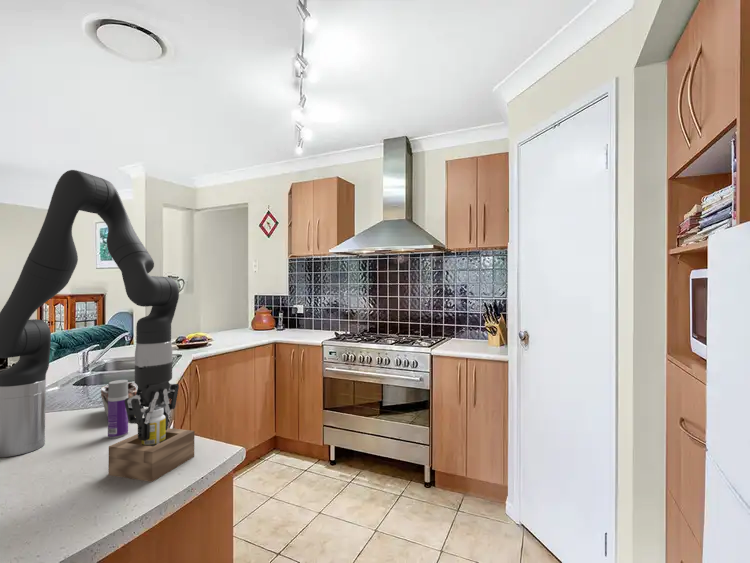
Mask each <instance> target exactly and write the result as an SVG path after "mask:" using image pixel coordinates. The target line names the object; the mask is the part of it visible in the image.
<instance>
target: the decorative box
mask: <svg viewBox="0 0 750 563" xmlns="http://www.w3.org/2000/svg"><path fill="white" fill-rule="evenodd" d="M137 388H138V386H137V384H135V382H131V381H130V382H129V381H128V398H132V397H134V396H135V395H136V392H137ZM100 389H101V390H100V397H101V400H102V403H103V404H102V405H103V408H104V413H105V415H106V416H107V418H108V390H109V384H107V385H104V386H102V387H100ZM134 416H135V415H134Z"/></svg>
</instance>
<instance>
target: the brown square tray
mask: <svg viewBox="0 0 750 563" xmlns="http://www.w3.org/2000/svg"><path fill="white" fill-rule="evenodd" d="M193 458H195V430H191V429H190V430H189V429H182V428H180V429H179V428H173V427H172V428H171V427H167V430H166V440H165V441H163V442H161V443H159V444H157V445H155V446H146V445H142V440H139V438H138V433H137V434H134V435H132V436H129V437H128V438H124V439H123V440H120V441H118V442H115V443H113V444H110V445H109V446H108V464H107V465H108V468H107V469H108V470H107V471H108V476H111V477H119V478H125V479H132V480H136V481H137V480H138V481H142V482H144V481H145V482H149V483H152V482H153V483H154V482H155V481H156V480H158V479H160V478H161V477H163V476H165V475H166V474H168V473H170V472H171V471H173V470H175V469H176V468H178V467H179V466H181V465H183V464H185V463H186V462H188V461H190V460H191V459H193Z"/></svg>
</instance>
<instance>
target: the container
mask: <svg viewBox="0 0 750 563" xmlns="http://www.w3.org/2000/svg"><path fill="white" fill-rule="evenodd" d="M128 382H129V380H128V379H117V380H113V381H109V382H108V385H109V390H108V417H107V439H111V440H112V439H118V438H119V439H120V438H123V437H125V436H127V435H129V420H128V416H127V411H126V407H125V402H124V401H125V399H126V398H128Z"/></svg>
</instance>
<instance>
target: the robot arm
mask: <svg viewBox="0 0 750 563" xmlns="http://www.w3.org/2000/svg"><path fill="white" fill-rule="evenodd" d="M79 211H81V212H84V213H85V212H86V213H91V214H96V215H97V216H98V217H100V218H101V219H102V220H103V222H104V224H106V226H107V236H106V246H107V250H108V253H109V254H110V256H111V258H112V259H113V261H114V263H115V265H116V266H117V267H118V269H119V271H121V276H122V280H123V284H124V290H125V292H126V295H127V297H128V299H129V300H130V301H131V302H132V303H133V304H134V305H136V306H139V307H151V309H150V311H149V314H147V315H146V316H143V317H141V318H139V319H138V320H137V322H136V327H135V331H136V332H135V333H136V334H135V335H136V336H135V340H136V341H135V342H136V343H135V349H134V383H135V384H137V388H136V390H137V392H136V395H135V396H134V397H132V398H126V399H125V401H124V402H125V407H126V411H127V416H128V424H131V425H133V424H135V425H137V434H138V438H139V440H143V441H146V440H148V439H149V438H150V423H149V420H150V416H151V413H153V411H154V408H155V406H162V407H164V413H163V415H165V417H166V430H167V428H169V414H170V412H171V411H172V410H174V409H175V408H176V404H177V400H178V399H177V398H178V394H179V390H180V389H179V388H180V386H179V384H178V383H170V381H171V380H172V379H173V346H172V322H173V320H174V316H175V312H176V309H177V305H178V302H179V298H180V291H179V290H180V289H179V286H178V284H177V282H176V281H175V280H174V279H173V278H172V277H169V276H158V275H157V276H156V275H155V276H154V275H150V273H151V271H152V270H154V267H155V261H154V260H153V257H152V255H151V254H150V253H149V251H148V250H147V248H146V247H145V246H144V244H143V242H142V241H141V240H140V238H139V236H138V235H137V233H136V231H135V229H134V227H133V225H132V222H131V219H130V218H129V215H128V212H127V211H126V208H125V206H124V203H123V201H122V199H121V196H120V194H119V191H118V190H117V188H116V187H115V185H114V184H113V183H112V182H110V180H107V179H105V178H102V177H99V176H97V175H94V174H91V173H87V172H83V171H80V170H77V169H70V170H66V171H65V172H64V173H63V174H62V175H61V176H60V178H59V179H58V180H57V182H56V184H55V187H54V190H53V192H52V195H51V199H50V203H49V206H48V209H47V212H46V215H45V217H44V221H43V223H42V226H41V228H40V230H39V233H38V235H37V237H36V239H35V242H34V244H33V245H32V246H33V247H32V248H31V250H30V252H29V254H28V256H27V258H26V260H25V262H24V264H23V267H22V270H21V272H20V275H19V277H18V278H17V281H16V283H15V285H14V287H13V289H12V291H11V293H10V294H9V298H7V300H6V303H5V304H4V306H3V307H2V308H1V310H0V359H10V358H16V357H19V358H18V361H16V363H14V364H13V365H12V366H10V367H8V368H6V369H5V370H3V371H0V458H6V457H14V456H19V455H23V454H27V453H28V454H29V453H31V452H33V451H36V450H39V449H41V448H43V447H44V446H45V444H46V443H45V442H46V401H47V400H46V392H47V390H46V384H47V380H46V376H47V372H48V369H49V366H50V357H51V346H52V334H51V333H52V332H51V329H50V326H49V325H48V323H47V322H46V321H44V320H42V319H38V318H37V319H36V318H35V319H33V318H32V319H30V318H31V317H32V316H33V314H34V313H35V312H36V311H37V310H39V308H40V307H41V306H43V305H44V304H45V303H47V302H48V301H50V300H51V299H52V298H54V297H55V296H56V295H57V294H59V293H60V292H61V291H63V289H64V288H65V287H67V285H68V284H69V282H70V280H71V278H72V276H73V274H74V272H75V269H77V268H76V267H77V265H78V260H79V258H78V252H77V248H76V243H75V241H74V238H73V227H74V226H73V225H74V222H75V219H76V218H77V215H78V214H79ZM170 400H171V401H170ZM146 408H148V409H146ZM144 412H145V417H144V415H143V414H144ZM134 415H135V416H134Z"/></svg>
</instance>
